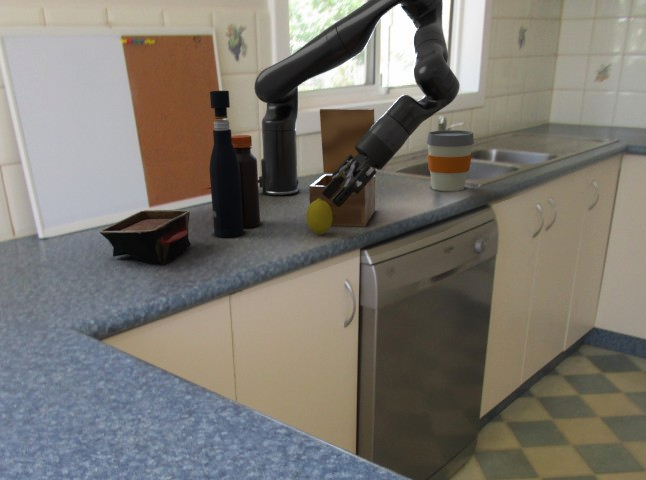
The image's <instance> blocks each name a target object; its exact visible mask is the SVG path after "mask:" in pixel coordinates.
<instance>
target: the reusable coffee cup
mask: <svg viewBox="0 0 646 480" xmlns="http://www.w3.org/2000/svg"><path fill="white" fill-rule="evenodd" d="M426 139H427V140H426V144H427V147H428V148H427V149H428V153H427V154H426V155H427V166H428V168H427V169H428V171H429V173H430V185H431V189H432V190H434V191H440V192H442V191H443V192H458V191H462V190H464V189H465V186H466V180H467V177H468V172H469V171H470V168H471V163H472V157H473V153H472V148H473V145H474V143H475V141H474V140H475V138H474V132H473V131H469V130H459V129H457V130H456V129H447V130H445V129H443V130H433V131H429V132H427V138H426Z"/></svg>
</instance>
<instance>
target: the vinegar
mask: <svg viewBox="0 0 646 480" xmlns="http://www.w3.org/2000/svg"><path fill="white" fill-rule="evenodd" d="M231 137H232V144H233V147H234V149H235V152H236V155H237V158H238V162H239V166H240V180H241V196H242V213H243V229H250V228H251V229H252V228H256V227H258V226H260V224H261V213H260V212H261V211H260V193H259V183H258V180H259V173H258V172H259V171H258V159H257V157H256V156H255V155H254V154H253V153H252V148H253V147H252V146H253V140H252V135H249V134H236V135H231Z"/></svg>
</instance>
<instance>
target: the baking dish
mask: <svg viewBox="0 0 646 480" xmlns="http://www.w3.org/2000/svg"><path fill="white" fill-rule="evenodd" d="M190 212H191V211H190V210H188V209H187V210H186V209H145V210H140V211H138V212H135V213H133V214H132V215H130V216H127V217H125V218H123V219H121V220H119V221H117V222H115V223H113V224H111V225H109V226H107V227H105V228H103V229H101V230H100V231H99V234H100V235H101V236H102V237H104V238H105V239H106V240H107V241H108V242H109V243H110V245H111V246H112V247H113V249H112V258H116V257H121V256H129V257H133V258H135V259H137V260H140V261H142V262H145V263H147V264H150V265H151V264H152V265H160V266H164V265H166V264H168V263H169V262H171V261H172V260H174V259H175V258H177V257H178V256H179V255H180V254H182V253H183V252H185V250H187V249H188V248H189V247H190V246H191V245H192V244H191V242H190V239H189V224H190Z"/></svg>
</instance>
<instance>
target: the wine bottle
mask: <svg viewBox="0 0 646 480" xmlns="http://www.w3.org/2000/svg"><path fill="white" fill-rule="evenodd" d="M209 100H210V109H214V119H215V120H214V121H213V130H212V135H213V137H212V138H213V146H212V150H211V154H210V158H209V181H210V182H209V184H211V187H210V193H211V194H210V195H211V206H212V220H213V230H214V231H213V233H214V236H215V237H217V238H223V239H225V238H226V239H228V238H229V239H230V238H237V237H241V236H242V235H244V233H245V232H244V229H245V228H243V213H242V196H241V180H240V166H239V162H238V158H237V155H236V152H235V149H234V147H233V144H232V137H231V136H232V129H230V127H231V126H230V124H231V123H230V121H229V119H227V118H228V109H229V108H230V107H231V105H230V104H231V103H230V91H229V90H211V91H209Z"/></svg>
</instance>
